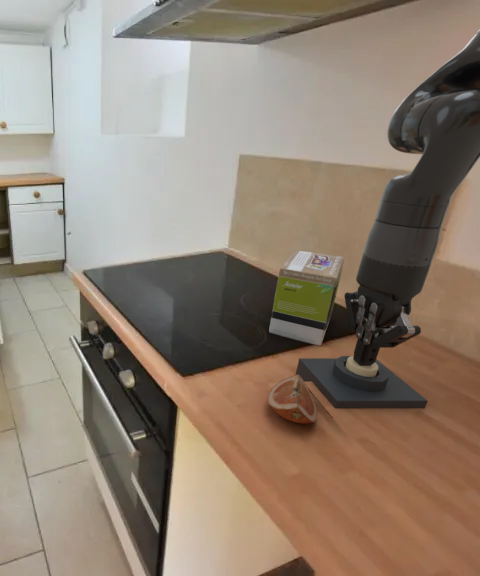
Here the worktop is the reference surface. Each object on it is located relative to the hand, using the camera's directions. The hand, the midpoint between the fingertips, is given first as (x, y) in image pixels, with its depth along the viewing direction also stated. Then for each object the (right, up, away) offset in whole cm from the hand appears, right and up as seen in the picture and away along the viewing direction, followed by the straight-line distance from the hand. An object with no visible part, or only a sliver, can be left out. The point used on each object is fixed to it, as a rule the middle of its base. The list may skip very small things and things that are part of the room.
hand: (362, 362), depth 58 cm
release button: (0, -2, +1) cm, 2 cm away
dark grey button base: (0, -6, +2) cm, 6 cm away
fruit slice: (-12, -8, -2) cm, 15 cm away
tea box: (+3, +3, +24) cm, 24 cm away
